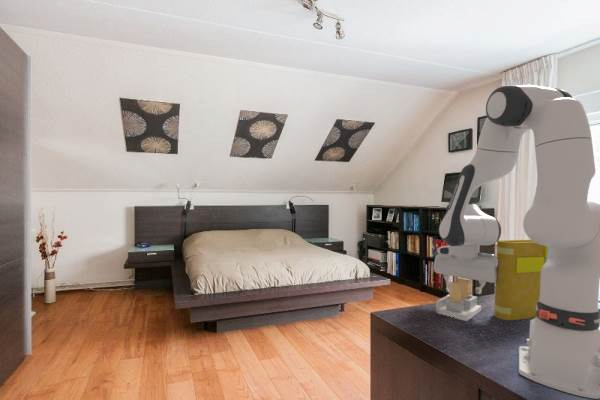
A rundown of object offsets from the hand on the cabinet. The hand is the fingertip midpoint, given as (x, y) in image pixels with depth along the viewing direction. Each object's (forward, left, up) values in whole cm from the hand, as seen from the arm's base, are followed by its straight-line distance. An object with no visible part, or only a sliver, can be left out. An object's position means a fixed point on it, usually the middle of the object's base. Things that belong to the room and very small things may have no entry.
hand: (463, 290), depth 121 cm
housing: (-3, 0, -7) cm, 8 cm away
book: (+8, -15, -7) cm, 18 cm away
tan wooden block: (0, 0, -5) cm, 5 cm away
